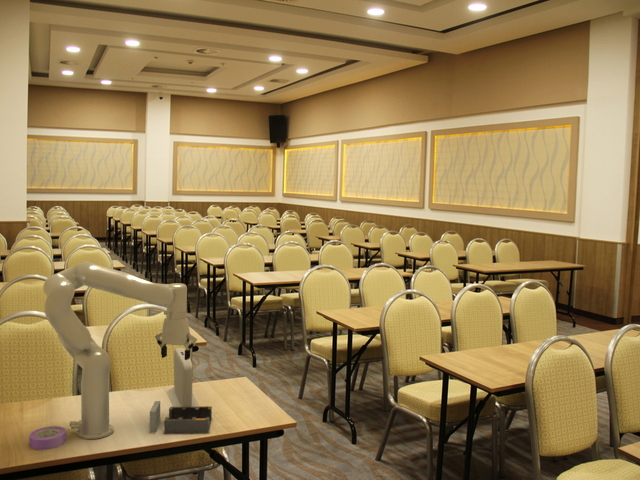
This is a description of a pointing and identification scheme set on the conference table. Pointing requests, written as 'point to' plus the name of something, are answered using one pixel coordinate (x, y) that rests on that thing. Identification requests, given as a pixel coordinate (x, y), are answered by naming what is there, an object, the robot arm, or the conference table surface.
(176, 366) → the wireless router
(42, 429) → the masking tape
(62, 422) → the conference table surface
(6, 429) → the conference table surface
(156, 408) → the panel
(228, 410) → the conference table surface
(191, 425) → the rack
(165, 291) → the robot arm
